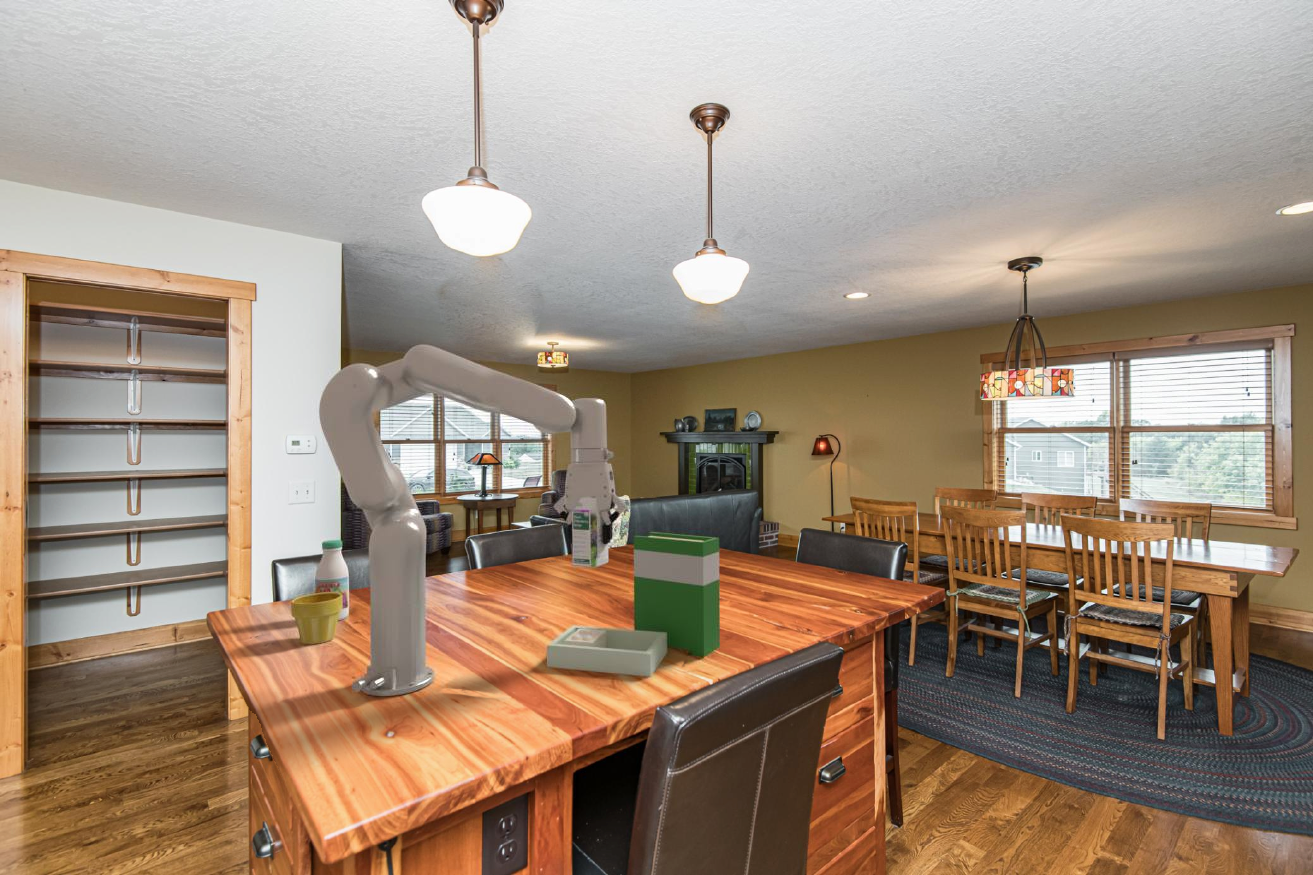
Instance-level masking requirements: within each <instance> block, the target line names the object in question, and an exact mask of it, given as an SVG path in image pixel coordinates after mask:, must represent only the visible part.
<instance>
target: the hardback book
mask: <svg viewBox="0 0 1313 875" xmlns="http://www.w3.org/2000/svg"><path fill="white" fill-rule="evenodd" d="M720 605H721V604H720V538H719V537H714V536H713V537H711V536H704V535H703V536H702V535H701V536H700V535H691V534H690V535H689V534H679V533H678V534H677V533H667V532H666V533H665V532H656V531H650V532H649V535H647V536H646V535H643V536H642V535H634V536H633V611H634V612H633V613H634V614H633V615H634V616H633V628H634V629H633V630H639V631H652V632H665V633H667V648H672V649H677V650H681V651H687V652H688V653H687V655H688V656H693V657H697V656H698V657H697V658H703V659H705V658H706V657H707V655H708V654H709V655H711V654H712V653H714V652H715V651H717V650H718V649H717V648H719V647H721V640H720V639H721V631H720V630H721V629H720V628H721V624H720V620H721V619H720V612H721V611H720ZM716 649H717V650H716ZM719 649H720V648H719ZM714 650H715V651H714ZM713 651H714V652H713ZM710 653H711V654H710ZM709 655H708V656H709ZM705 656H706V657H705ZM704 657H705V658H704Z"/></svg>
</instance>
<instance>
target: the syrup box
mask: <svg viewBox="0 0 1313 875" xmlns="http://www.w3.org/2000/svg"><path fill="white" fill-rule="evenodd" d="M603 525H605V521H604V519H603V517H602V515H601V513H600V512H599V511H598V508H597V499H596V497H582V498H581V499H580V500H579V502H578V504H577V505H576V507H575V509H574V510H572V538H573V544H572V566H573V567H583V568H584V567H585V568H586V567H587V568H594V569H595V568H598V567H600V566H603V565H605V564H608V563H609V543H608V544H603Z"/></svg>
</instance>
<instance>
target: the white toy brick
mask: <svg viewBox="0 0 1313 875" xmlns="http://www.w3.org/2000/svg"><path fill="white" fill-rule="evenodd" d="M564 644H565V645H576V646H588V647H600V648H606V631H605V630H597V629H593V630H592V629H585V628H583V629H578V630H577V631H576V632H574V633H573V634H572V635H571V636H569V637H568V638H567V639H566V640H564Z"/></svg>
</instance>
